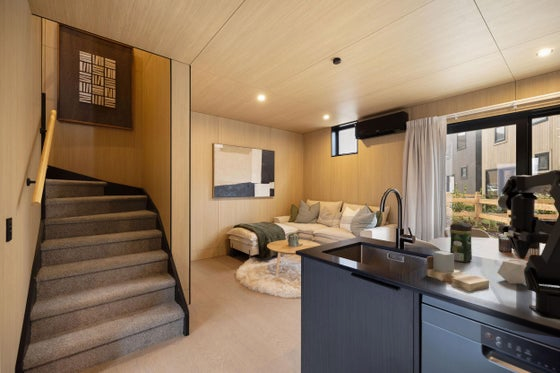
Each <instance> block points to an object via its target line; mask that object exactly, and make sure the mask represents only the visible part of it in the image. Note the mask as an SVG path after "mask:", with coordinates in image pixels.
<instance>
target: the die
mask: <svg viewBox="0 0 560 373" xmlns="http://www.w3.org/2000/svg"><path fill="white" fill-rule="evenodd" d="M524 269H525V268H524V267H523V266H522V265H520V264H519V263H518V262H517V261H507V260H504V261H502V263H501V265H500V266H499V269H498V270H497V272H496V273H497V274H498V275H499V276H500V277H501V278H503V279H504V280H505V281H506V282H507V283H508V284H510V285H524V284H525V283H526V281H525V275H524Z"/></svg>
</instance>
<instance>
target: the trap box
mask: <svg viewBox="0 0 560 373" xmlns="http://www.w3.org/2000/svg"><path fill="white" fill-rule="evenodd" d="M433 256H434V255H431V256H426V276H427V277H431V278H433V279H435V280H438V281H440V282H443V281H444V283H446V282H447V283H446V284H449V285H452V286H455V287H457V288H460V289H462V290H464V291H468V292H472V291H477V290H482V289H486V288H490V279H486V278H484V277H480V276H477V275H473V274H469V275H468V274H465V273H462V272H461V270H458V269H455V268H454V272H448V273H444V272H441V271H438V270H435V269H433Z"/></svg>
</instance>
